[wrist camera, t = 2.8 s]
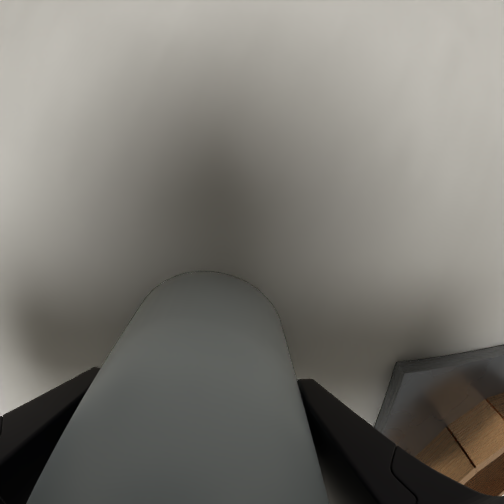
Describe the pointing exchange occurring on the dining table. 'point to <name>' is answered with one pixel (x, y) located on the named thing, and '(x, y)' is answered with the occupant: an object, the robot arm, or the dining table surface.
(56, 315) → the dining table surface
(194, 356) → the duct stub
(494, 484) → the duct collar
